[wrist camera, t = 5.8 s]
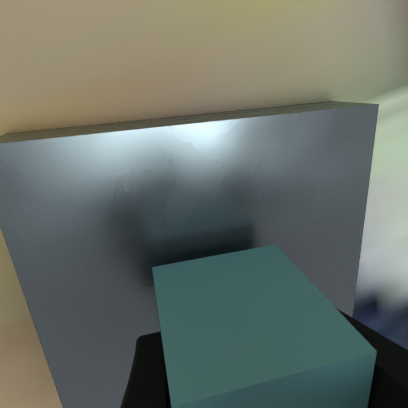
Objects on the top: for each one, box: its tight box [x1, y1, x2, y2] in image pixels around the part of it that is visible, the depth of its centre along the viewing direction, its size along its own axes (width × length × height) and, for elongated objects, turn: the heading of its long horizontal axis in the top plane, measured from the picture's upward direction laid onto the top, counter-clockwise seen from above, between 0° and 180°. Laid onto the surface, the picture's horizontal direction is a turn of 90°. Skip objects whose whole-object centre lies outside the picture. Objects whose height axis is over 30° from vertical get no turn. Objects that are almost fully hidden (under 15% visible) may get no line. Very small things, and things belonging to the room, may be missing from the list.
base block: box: [0, 101, 379, 408], centre depth 12 cm, size 12×12×2 cm
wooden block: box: [152, 244, 377, 408], centre depth 8 cm, size 4×4×4 cm
